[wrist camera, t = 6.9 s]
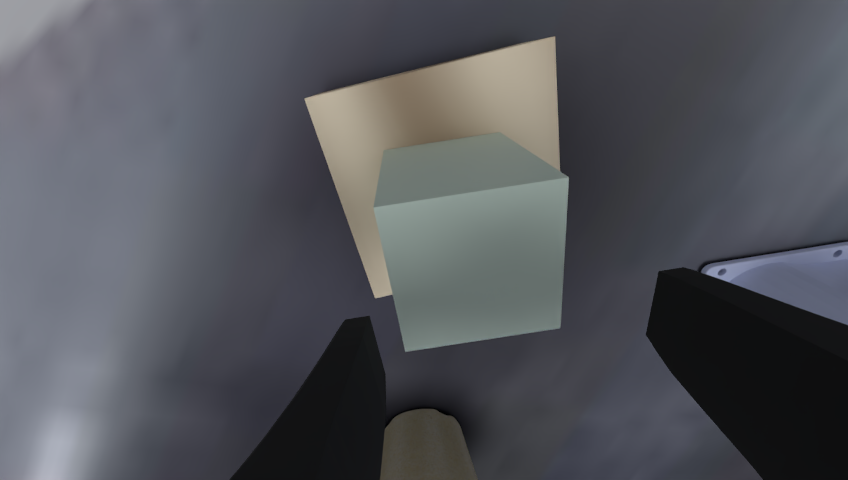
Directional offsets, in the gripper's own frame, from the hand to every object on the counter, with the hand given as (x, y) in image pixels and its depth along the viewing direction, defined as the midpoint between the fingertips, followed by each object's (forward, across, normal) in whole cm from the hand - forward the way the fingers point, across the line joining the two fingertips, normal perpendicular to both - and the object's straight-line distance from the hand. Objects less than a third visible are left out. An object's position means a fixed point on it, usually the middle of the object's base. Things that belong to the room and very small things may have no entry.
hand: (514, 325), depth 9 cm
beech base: (+11, +1, -2) cm, 11 cm away
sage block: (+7, +1, -1) cm, 7 cm away
